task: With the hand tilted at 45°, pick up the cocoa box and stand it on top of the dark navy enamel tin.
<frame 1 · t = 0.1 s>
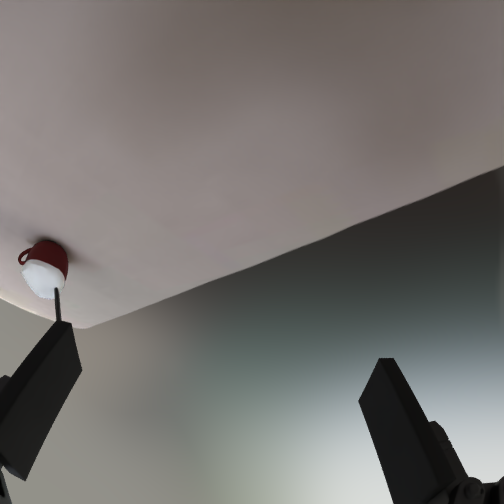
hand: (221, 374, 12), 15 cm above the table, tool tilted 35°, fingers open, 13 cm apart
cocoa: (57, 248, 35), on the table
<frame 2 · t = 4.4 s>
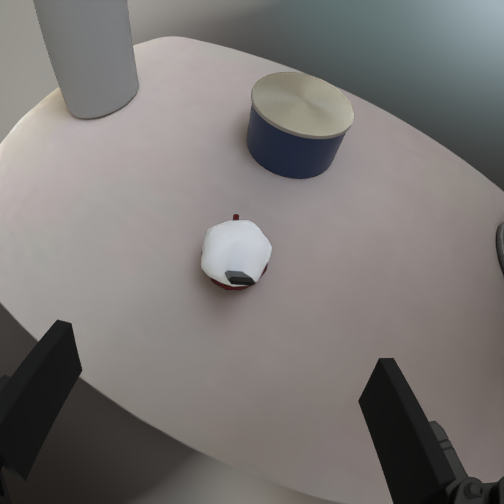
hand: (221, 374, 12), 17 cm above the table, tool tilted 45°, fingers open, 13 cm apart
enamel tin: (291, 144, 40), on the table
cylinder vase: (103, 97, 41), on the table
cocoa: (231, 273, 32), on the table
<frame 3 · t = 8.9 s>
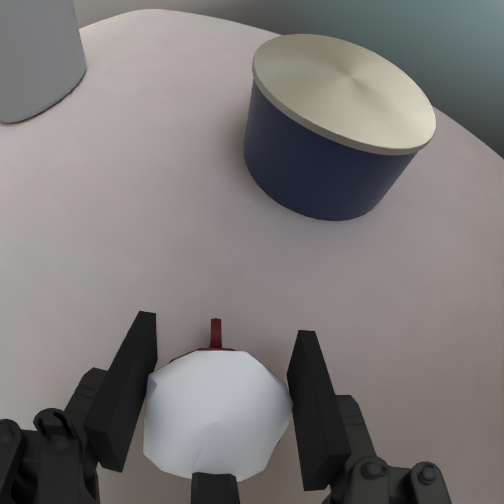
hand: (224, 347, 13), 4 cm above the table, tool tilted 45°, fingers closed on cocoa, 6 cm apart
enamel tin: (318, 156, 23), on the table
cylinder vase: (40, 89, 25), on the table
cocoa: (212, 414, 15), on the table, touching gripper
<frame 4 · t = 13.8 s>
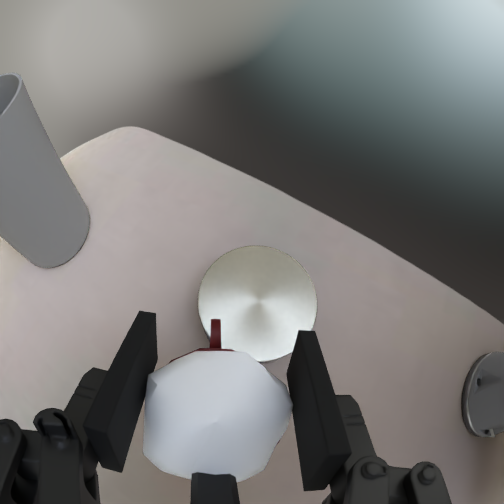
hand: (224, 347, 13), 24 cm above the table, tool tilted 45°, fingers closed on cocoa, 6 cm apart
enamel tin: (250, 316, 38), on the table
cylinder vase: (56, 231, 40), on the table
cocoa: (212, 414, 15), point 20 cm above the table, touching gripper
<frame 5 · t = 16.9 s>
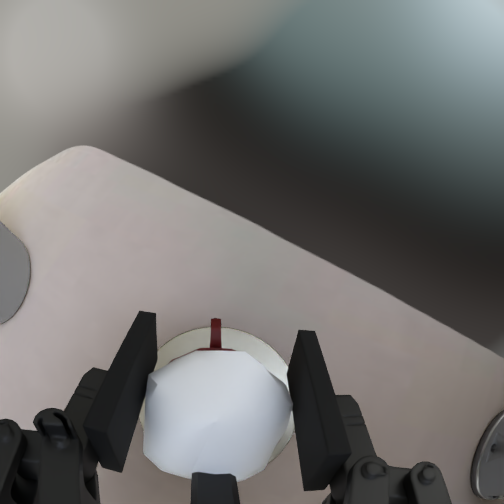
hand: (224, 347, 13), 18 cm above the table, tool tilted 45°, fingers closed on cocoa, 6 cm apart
enamel tin: (217, 399, 28), on the table
cocoa: (212, 414, 15), point 14 cm above the table, touching gripper
when the fingers open (12 cm above the table, at t = 19.0 s): cocoa stays where it is, resting on enamel tin.
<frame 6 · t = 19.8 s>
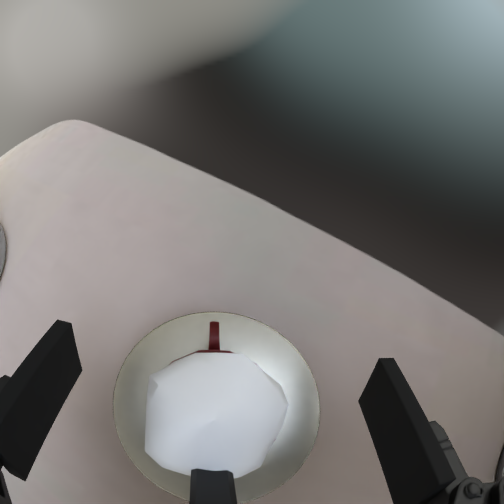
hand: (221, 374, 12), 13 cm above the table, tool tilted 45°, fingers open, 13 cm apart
enamel tin: (216, 403, 23), on the table
cocoa: (211, 413, 16), point 8 cm above the table, touching enamel tin
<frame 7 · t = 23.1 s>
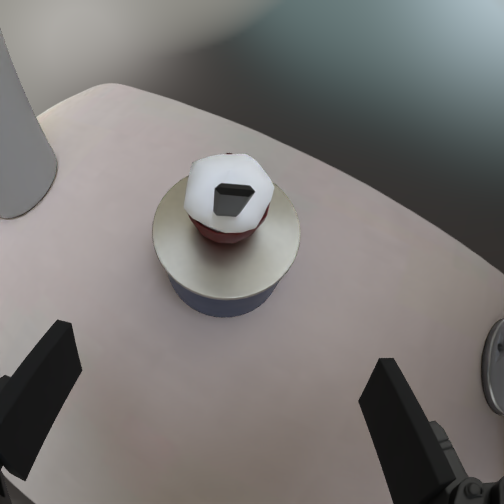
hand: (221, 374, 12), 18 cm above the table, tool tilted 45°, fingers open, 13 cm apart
enamel tin: (223, 261, 33), on the table
cylinder vase: (23, 183, 34), on the table
cocoa: (223, 226, 25), point 8 cm above the table, touching enamel tin
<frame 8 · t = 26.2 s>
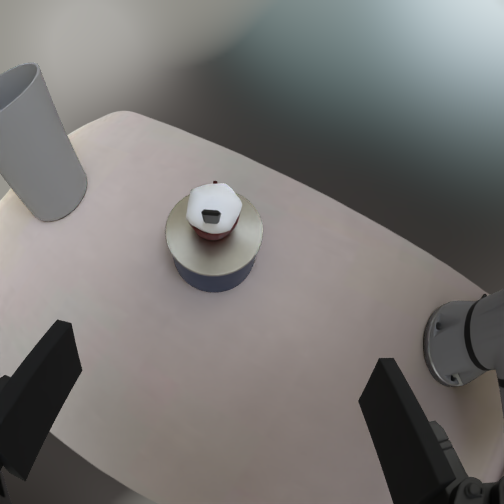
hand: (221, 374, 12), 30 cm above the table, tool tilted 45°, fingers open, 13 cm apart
enamel tin: (214, 253, 46), on the table
cylinder vase: (59, 193, 47), on the table
cocoa: (212, 229, 39), point 8 cm above the table, touching enamel tin
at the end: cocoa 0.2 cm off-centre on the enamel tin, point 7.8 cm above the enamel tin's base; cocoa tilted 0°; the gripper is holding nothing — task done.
